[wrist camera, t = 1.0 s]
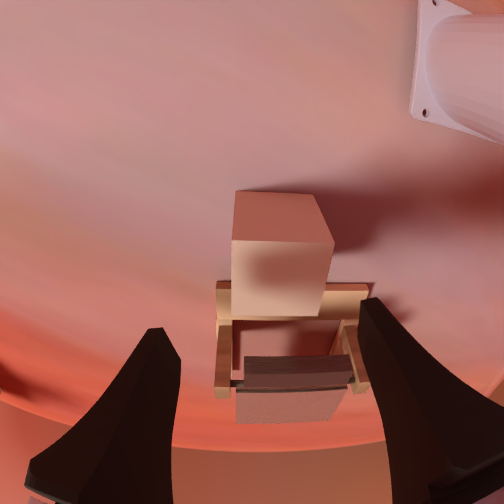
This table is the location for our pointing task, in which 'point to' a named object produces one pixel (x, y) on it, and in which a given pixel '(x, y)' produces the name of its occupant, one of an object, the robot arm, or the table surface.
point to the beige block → (278, 254)
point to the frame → (332, 308)
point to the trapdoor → (292, 388)
